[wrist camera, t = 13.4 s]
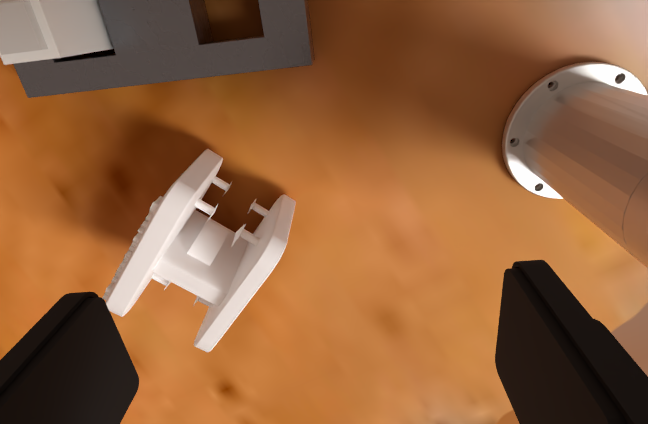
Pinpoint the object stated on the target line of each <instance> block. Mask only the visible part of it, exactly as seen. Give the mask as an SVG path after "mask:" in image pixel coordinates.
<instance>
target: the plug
mask: <svg viewBox="0 0 648 424" xmlns="http://www.w3.org/2000/svg"><path fill="white" fill-rule="evenodd" d="M109 49H114V48H113V44H112V41H111V38H110V35H109V32H108V29H107V26H106V23H105V20H104V17H103V13H102V10H101V7H100V4H99V1H98V0H0V56H1V59H2V61H3V63H4V65H6V64H14V63H22V62H30V61H39V60H47V59H55V58H62V57H68V56H74V55H80V54H86V53H92V52H98V51H104V50H109Z"/></svg>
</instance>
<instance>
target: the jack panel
mask: <svg viewBox="0 0 648 424" xmlns="http://www.w3.org/2000/svg"><path fill="white" fill-rule="evenodd" d="M98 1H99V4H100V7H101V10H102V13H103V17H104V20H105V23H106V26H107V29H108V32H109V35H110V38H111V41H112V44H113V48H114V51H115V54H109V55H101V56H93V57H84V58H83V57H82V54H80V55H74V56H68V57H62V58H55V59H47V60H39V61H30V62H22V63H14V67H15V69H16V71H17V74H18V76H19V78H20V80H21V83H22V85H23V87H24V90H25V92H26V94H27V97H28V98H31V97H39V96H48V95H56V94H65V93H74V92H82V91H91V90H100V89H108V88H117V87H125V86H134V85H143V84H151V83H160V82H169V81H177V80H186V79H194V78H203V77H212V76H220V75H229V74H238V73H246V72H255V71H263V70H272V69H281V68H289V67H298V66H307V65H312V64H313V62H314V60H315V59H314V50H313V41H312V33H311V24H310V15H309V7H308V0H258V2H259V8H260V14H261V20H262V26H263V32H264V35H263V36H255V37H247V38H239V39H231V40H223V41H215V42H213V38H212V34H211V29H210V24H209V20H208V15H207V11H206V6H205V1H204V0H98Z"/></svg>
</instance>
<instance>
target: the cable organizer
mask: <svg viewBox="0 0 648 424" xmlns="http://www.w3.org/2000/svg"><path fill="white" fill-rule="evenodd" d="M222 161H223V158H222V157H221V156H219V155H218V154H216V153H214V152H213V151H211V150H209V149H206V150H205V151H204V152H203V153H202V154H201V155H200V156H199V157H198V158H197V159H196V160H195V161H194V162H193V163H192V164H191V165H190V166H189V168H188V169H187V170H186V171H185V172H184V173H183V174H182V175H181V176H180V177H179V178H178V179H177V180H176V181H175V182H174V183H173V184H172V186H171V187H170V188H169V189H168V191H167V192H166V194H165V195H164V197H162V196H160V197H159V198H158V199H157V200H156V201H154V202H153V203H152V205H151V207H150V211H149V214H148V215H147V216H146V218H145V219H146V220H145V221H144V222H143V223H142V224H141V227H140V228H139V229H138V233H137V235H136V236H135V237H134V239H133V242H132V244H131V246H130V248H129V251H128V252H127V253H126V254H125V257H124V259H123V261H122V263H121V264H120V267H119V268H118V269H117V272H116V274H115V276H114V278H113V279H112V282H111V284H110V285H109V286H108V287H107V289H106V292H105V295H104V296H103V299H105V300H106V305H107V307H108V309H109V311H111V312H113V313H115V314H117V315H119V316H121V317H122V316H124V315H125V314H126V313H127V312H128V311H129V310H130V309H131V307H132V306H133V305H134V303H135V302H136V301H137V299H138V298H139V296H140V295H141V293H142V292H143V291H144V289H145V288H146V286H147V285H148V283H149V282H150V280H151V279H154V280H156V281H158V282H160V283H162V284H164V285H165V286H166V287H167V286H168V285H169V284H170V283H171V282H172V283H174V284H176V285H178V286H180V287H182V288H184V289H186V290H187V291H189V292H191V293H193V294H195V295H197V298H196V300H195V303H196V302H197V301H199V302H201V303H203V304H205V305H207V306H209V308H208V311H207V313H206V315H205V318H204V320H203V322H202V325H201V327H200V329H199V331H198V334H197V336H196V338H195V341H194V346H195V347H197V348H199V349H201V350H203V351H205V352H209V351H211V350H212V349H213V348H214V346H215V345H216V344H217V343H218V341H219V340H220V339H221V337H222V336H223V335H224V334H225V332H226V331H227V330H228V328H229V327H230V326H231V324H232V323H233V322H234V320H235V319H236V318H237V317H238V315H239V314H240V313H241V311H242V310H243V309H244V307H245V306H246V305H247V303H248V302H249V301H250V300H251V298H252V297H253V296H254V294H255V293H256V292H257V290H258V289H259V288H260V286H261V285H262V284H263V283H264V281H265V280H266V279H267V277H268V276H269V275H270V273H271V272H272V271H273V269H274V268H275V266H276V265H277V263H278V262H279V260H280V258H281V256H282V254H283V252H284V250H285V248H286V244H287V240H288V236H289V231H290V227H291V222H292V217H293V213H294V208H295V204H296V201H295V200H293V199H292V198H290V197H288V196H287V195H285V194H283V195H281V196H280V197H279V198H278V199H277V201H276V202H275V203H274V204H273V206H272V207H271V209H270V210H269V211H268V210H267V209H265V208H263V207H262V206H260V205H258V204H257V203H255V202H256V200H257V199H255V200H254V202H253V203H252V204H251V206H250V209H249V211H250V210H251V209H252V210H254V211H256V212H257V213H259V214H261V215H262V216H264V219H263V220H262V221H261V223H260V224H259V226H258V227H257V229H256V230H255V231H254V233H253V234H252V233H250V232H249V231H247V230H245V229H244V227H245V225H246V224H245V225H243V226H242V227H241V228H240V229H239V230H238V231H237V232H236V233H235V232H233V231H232V230H230V229H228V228H226V227H225V226H223V225H221V224H219V223H218V222H216V221H214V220H212V219H211V216H212V215H213V214H214V213H215V211H216V208H217V206H218V204H217V206H216V208H214V207H213V206H211V205H209V204H207V203H206V202H204V201H202V198H203V196H204V195H205V193H206V191H207V190H208V188H209V186H210V185H211V183H213V184H215V185H217V186H218V187H220V188H222V189H223V190H225V191H226V192H227V191H228V190H229V188H230V186H231V183H232V182H231V183H230V184H228V183H226V182H225V181H223V180H221V179H220V178H218V177H216V175H217V173H218V171H219V169H220V166H221V164H222ZM226 192H225V193H226ZM225 193H224V194H225ZM222 197H223V196H222ZM196 208H198V209H200V210H202V211H204V212H205V213H207V214H209V215H211V216H210V217H207V216H205V215H204V214H202V213H200V212H198V211H196ZM249 211H248V213H249ZM165 289H166V288H165ZM165 289H164V290H165ZM195 303H194V304H195ZM193 306H194V305H193Z"/></svg>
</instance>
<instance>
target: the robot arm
mask: <svg viewBox="0 0 648 424" xmlns="http://www.w3.org/2000/svg"><path fill="white" fill-rule="evenodd" d="M615 77H616V78H615ZM550 82H551V84H550V86H549V87H548V84H549V83H550ZM511 139H513V141H512V142H510V140H511ZM502 153H503V158H504V162H505V165H506V167H507V169H508V171H509V173H510V174H511V176H512V177H513V178H514V179H515V180H516V181H517V182H518V183H519V184H520V185H521V186H522V187H524V188H525V189H526V190H528V191H530V192H531V193H533V194H535V195H539V196H542V197H546V198H555V199H563V198H564V199H565V200H566V201H567V202H568V203H570V204H571V205H572V206H573V207H575V208H576V209H577V210H578V211H579V212H581V213H582V214H583V215H584V216H585V217H587V218H588V219H589V220H590V221H591V222H593V223H594V224H595V225H596V226H597V227H599V228H600V229H601V230H602V231H603V232H605V233H606V234H607V235H608V236H609V237H611V238H612V239H613V240H614V241H615V242H617V243H618V244H619V245H620V246H622V247H623V248H624V249H625V250H626V251H628V252H629V253H630V254H631V255H632V256H634V257H635V258H636V259H637V260H638V261H640V262H641V263H642V264H643V265H645V266H646V267H647V268H648V93H647V91H646V88H645V87H644V86H643V84H642V83H641V81H640V80H639V79H638V78H637V77H636V76H635V75H633V74H632V73H631V72H630V71H628V70H626V69H624V68H621V67H619V66H617V65H613V64H608V63H602V62H582V63H575V64H572V65H569V66H565V67H562V68H560V69H558V70H556V71H554V72H552V73H549V74H548V75H546V76H545V77H543V78H542V79H540V80H539V81H537V82H536V83H535V84H534V85H533V86H532V87H531V88H529V89H528V90H527V91H526V92H525V93H524V94H523V96H522V97H521V98H520V99H519V101H518V102H517V103H516V105H515V106H514V108H513V110H512V112H511V113H510V115H509V117H508V119H507V122H506V125H505V128H504V132H503V139H502ZM495 363H496V368H497V372H498V375H499V377H500V379H501V382H502V384H503V386H504V389H505V391H506V393H507V396H508V398H509V400H510V402H511V405H512V407H513V409H514V411H515V414H516V416H517V418H518V421H519V423H520V424H648V377H647V375H646V374H645V373H644V372H643V371H642V369H641V368H640V367H639V366H638V365H637V364H636V362H635V361H634V360H633V359H632V358H631V356H630V355H629V354H628V353H627V352H626V351H625V349H624V348H623V347H622V346H621V345H620V343H619V342H618V341H617V340H616V339H615V337H614V336H613V335H612V334H611V333H610V331H609V330H608V329H607V328H606V327H605V326H604V325H603V324H602V323H601V322H600V321H598V320H595V319H593V318H592V317H591V316H590V315H589V313H588V312H587V311H586V310H585V309H584V307H583V306H582V305H581V304H580V303H579V301H578V300H577V299H576V298H575V296H574V295H573V294H572V293H571V292H570V290H569V289H568V288H567V287H566V285H565V284H564V283H563V282H562V281H561V279H560V278H559V277H558V276H557V275H556V273H555V272H554V271H553V270H552V268H551V267H550V266H549V265H548V264H547V263H546V262H545V261H544V260H532V261H518V262H515V263H514V264H513V266H512V269H506V270H505V273H504V280H503V289H502V299H501V308H500V317H499V326H498V336H497V345H496V354H495ZM138 386H139V377H138V374H137V372H136V370H135V368H134V365H133V363H132V361H131V359H130V356H129V354H128V352H127V350H126V347H125V345H124V343H123V341H122V338H121V336H120V334H119V332H118V330H117V327H116V325H115V323H114V321H113V318H112V316H111V314H110V312H109V309H108V307H107V305H106V303H105V301H104V299H102V298H100V297H98V295H97V294H95V293H94V292H81V293H69V294H65V295H64V296H63V297H62V298H61V299H60V300H59V301H58V302H57V303H56V304H55V305H54V306H53V307H52V308H51V309H50V310H49V311H48V312H47V313H46V314H45V315H44V316H43V317H42V318H41V319H40V320H39V321H38V322H37V323H36V324H35V325H34V326H33V327H32V328H31V329H30V330H29V331H28V332H27V333H26V334H25V336H24V337H23V338H22V339H21V340H20V341H19V342H18V343H17V344H16V345H15V346H14V347H13V348H12V349H11V350H10V351H9V352H8V353H7V354H6V355H5V356H4V357H3V358H2V359H1V360H0V424H120V422H121V420H122V419H123V417H124V415H125V413H126V411H127V409H128V407H129V405H130V404H131V402H132V400H133V398H134V396H135V394H136V392H137V390H138Z"/></svg>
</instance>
